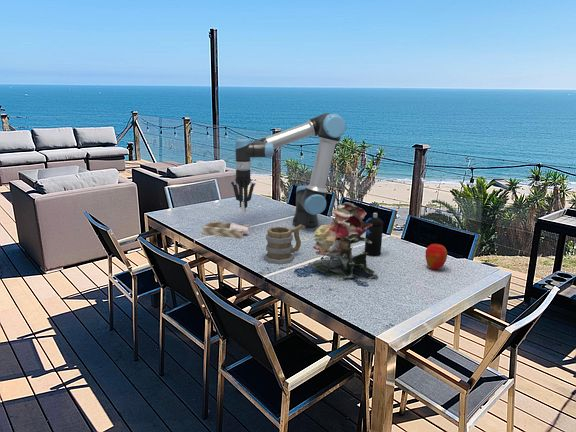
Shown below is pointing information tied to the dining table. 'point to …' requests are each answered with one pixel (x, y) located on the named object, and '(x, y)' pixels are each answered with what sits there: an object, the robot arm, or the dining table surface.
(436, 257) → the apple
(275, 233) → the tankard
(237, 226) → the smoothie
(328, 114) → the robot arm
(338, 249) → the rose bouquet
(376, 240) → the aerosol can
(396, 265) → the dining table surface
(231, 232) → the braided bread loaf
